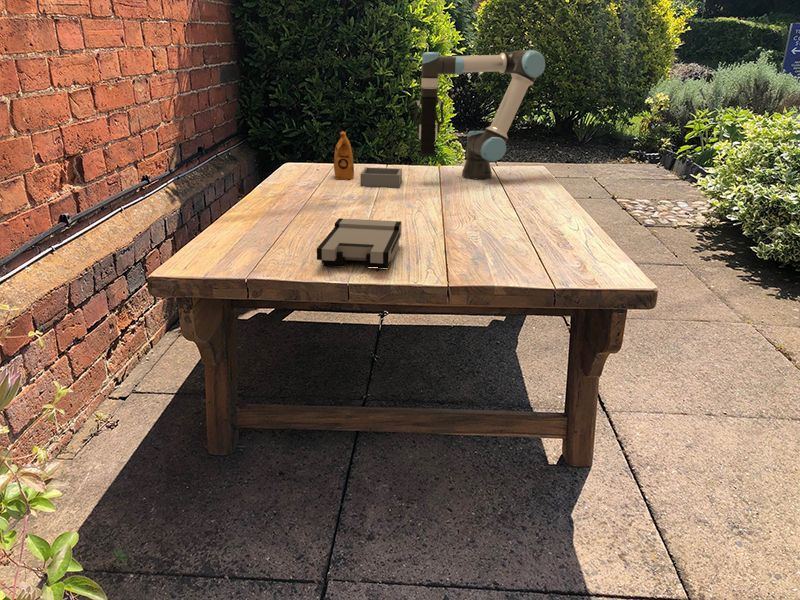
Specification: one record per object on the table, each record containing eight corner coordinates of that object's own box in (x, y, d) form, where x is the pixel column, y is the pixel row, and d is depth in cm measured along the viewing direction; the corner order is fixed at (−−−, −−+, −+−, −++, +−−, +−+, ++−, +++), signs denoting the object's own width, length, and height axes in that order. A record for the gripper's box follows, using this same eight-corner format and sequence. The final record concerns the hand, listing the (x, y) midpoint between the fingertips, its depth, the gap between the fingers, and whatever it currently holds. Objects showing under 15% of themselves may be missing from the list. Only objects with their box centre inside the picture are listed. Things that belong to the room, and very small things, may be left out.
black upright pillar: (432, 152, 326) (413, 153, 322) (433, 95, 316) (414, 95, 312) (441, 155, 317) (422, 156, 313) (444, 96, 308) (424, 97, 304)
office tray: (317, 271, 196) (316, 244, 193) (339, 242, 225) (338, 218, 223) (388, 275, 194) (388, 248, 191) (400, 245, 223) (401, 221, 220)
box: (401, 181, 329) (402, 168, 327) (399, 188, 313) (399, 175, 311) (365, 179, 331) (365, 167, 328) (360, 186, 314) (360, 173, 312)
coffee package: (332, 180, 328) (332, 133, 320) (334, 175, 340) (333, 130, 332) (353, 180, 328) (353, 134, 321) (354, 175, 340) (354, 131, 332)
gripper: (451, 87, 312) (449, 138, 320) (408, 87, 313) (407, 137, 321) (451, 88, 305) (449, 140, 313) (407, 88, 306) (406, 139, 314)
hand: (428, 139), depth 317 cm, fingers closed on black upright pillar, 7 cm apart
